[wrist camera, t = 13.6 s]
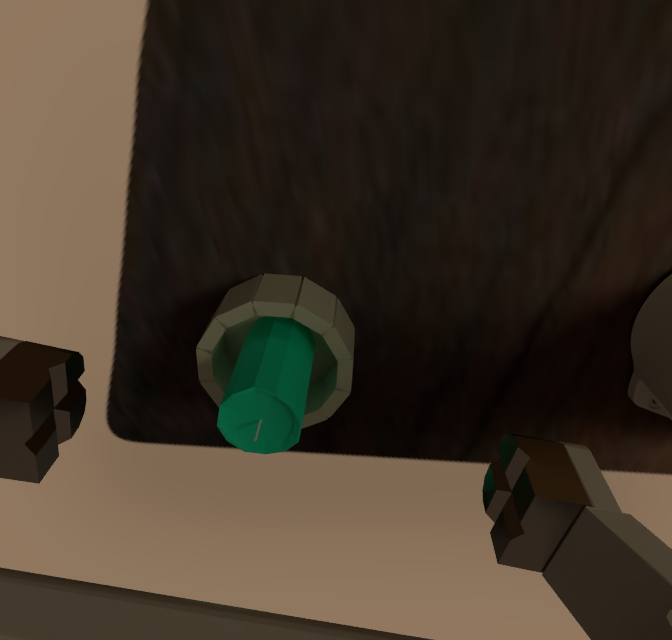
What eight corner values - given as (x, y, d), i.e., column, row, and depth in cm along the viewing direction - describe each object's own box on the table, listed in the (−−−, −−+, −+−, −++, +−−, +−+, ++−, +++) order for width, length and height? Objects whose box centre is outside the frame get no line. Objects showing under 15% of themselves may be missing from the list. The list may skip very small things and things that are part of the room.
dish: (382, 323, 45) (383, 354, 41) (306, 415, 50) (301, 451, 46) (254, 247, 42) (242, 272, 38) (189, 353, 48) (172, 385, 43)
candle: (327, 330, 45) (314, 426, 34) (298, 381, 47) (279, 483, 37) (261, 301, 44) (228, 391, 33) (236, 355, 46) (198, 453, 36)
